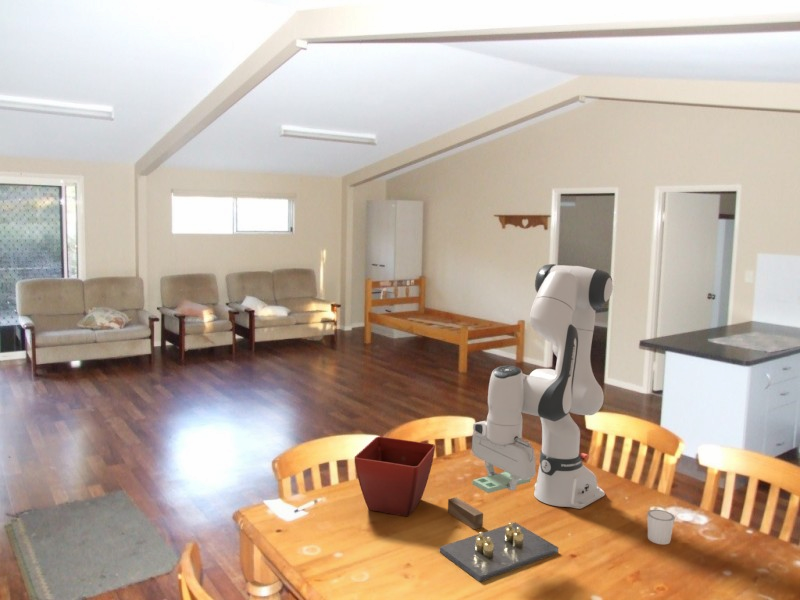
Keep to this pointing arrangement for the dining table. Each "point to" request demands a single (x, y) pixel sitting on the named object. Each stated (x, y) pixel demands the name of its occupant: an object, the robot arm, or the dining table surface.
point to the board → (495, 482)
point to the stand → (465, 513)
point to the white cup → (660, 526)
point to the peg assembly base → (498, 551)
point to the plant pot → (394, 474)
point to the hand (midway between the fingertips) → (501, 484)
